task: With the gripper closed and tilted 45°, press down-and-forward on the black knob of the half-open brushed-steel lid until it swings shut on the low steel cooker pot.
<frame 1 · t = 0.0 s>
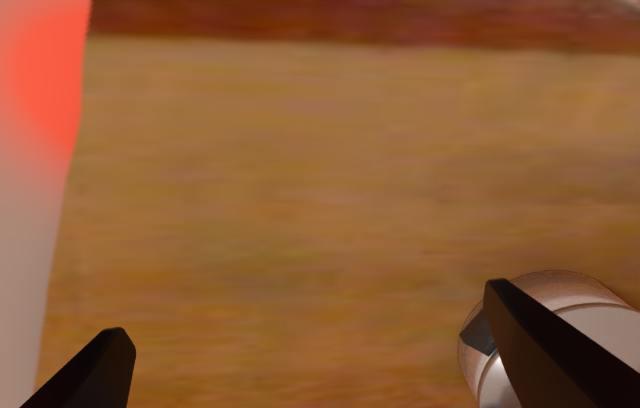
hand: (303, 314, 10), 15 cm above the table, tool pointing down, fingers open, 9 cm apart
cooker pot: (538, 342, 29), on the table
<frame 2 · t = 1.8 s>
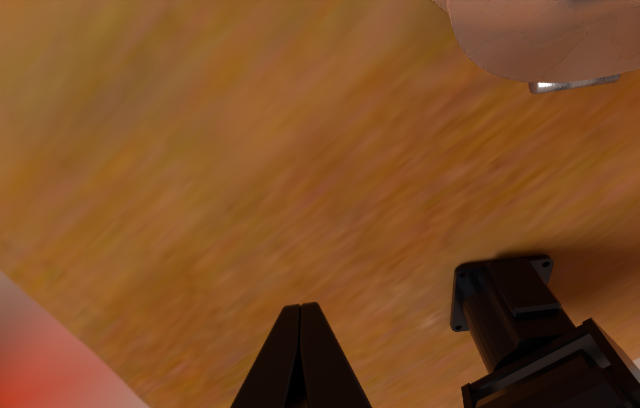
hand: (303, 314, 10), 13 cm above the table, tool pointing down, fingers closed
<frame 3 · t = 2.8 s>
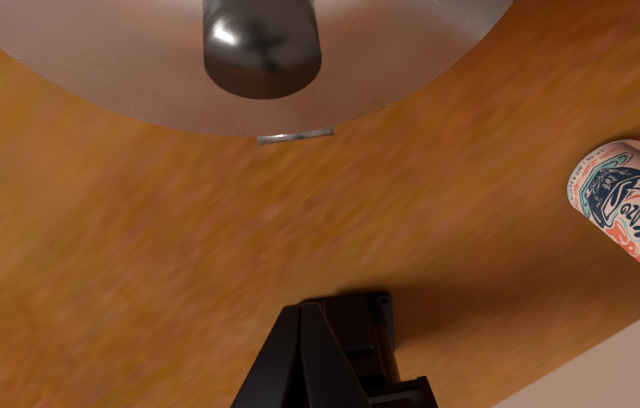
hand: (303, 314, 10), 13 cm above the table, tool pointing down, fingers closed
beer can: (601, 173, 23), on the table
cooker lid: (264, 28, 9), point 10 cm above the table, hinge at 40.0°
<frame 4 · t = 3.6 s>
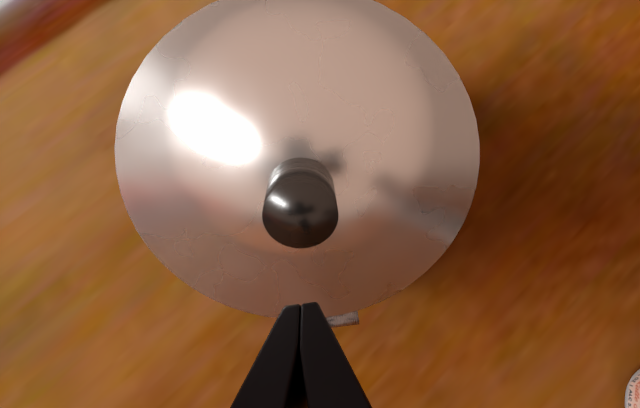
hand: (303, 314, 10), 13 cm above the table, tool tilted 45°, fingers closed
cooker lid: (303, 208, 14), point 10 cm above the table, hinge at 40.0°
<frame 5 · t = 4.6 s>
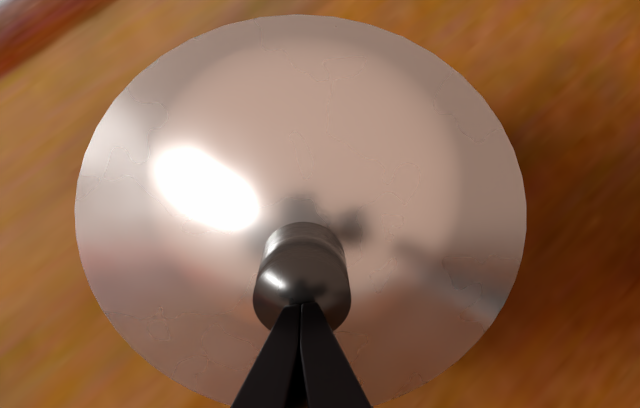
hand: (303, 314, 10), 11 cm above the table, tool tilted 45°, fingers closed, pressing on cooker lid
cooker lid: (306, 284, 11), point 9 cm above the table, hinge at 34.6°, touching gripper
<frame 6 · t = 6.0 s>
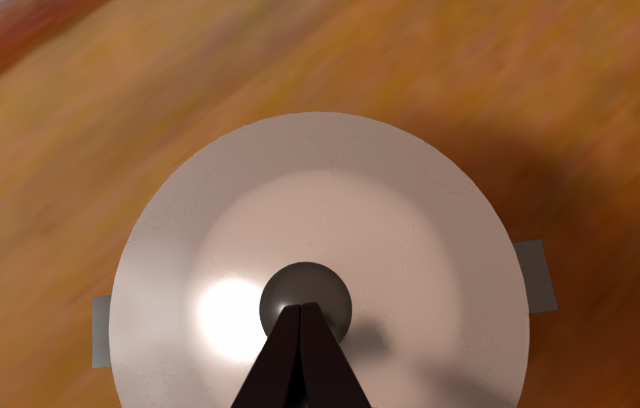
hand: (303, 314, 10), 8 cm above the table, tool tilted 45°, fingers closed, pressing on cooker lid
cooker lid: (312, 324, 11), point 6 cm above the table, hinge at -0.5°, touching cooker pot, gripper
cooker pot: (322, 299, 17), on the table
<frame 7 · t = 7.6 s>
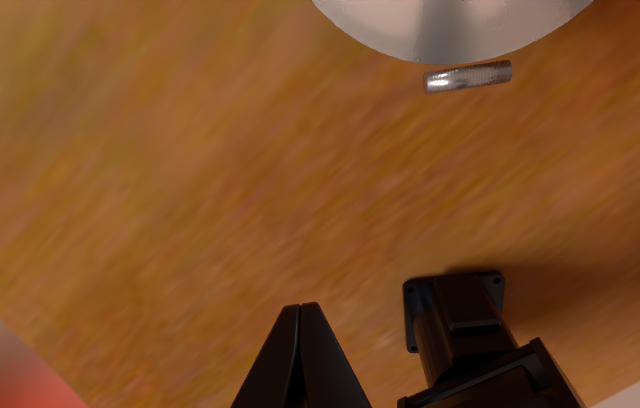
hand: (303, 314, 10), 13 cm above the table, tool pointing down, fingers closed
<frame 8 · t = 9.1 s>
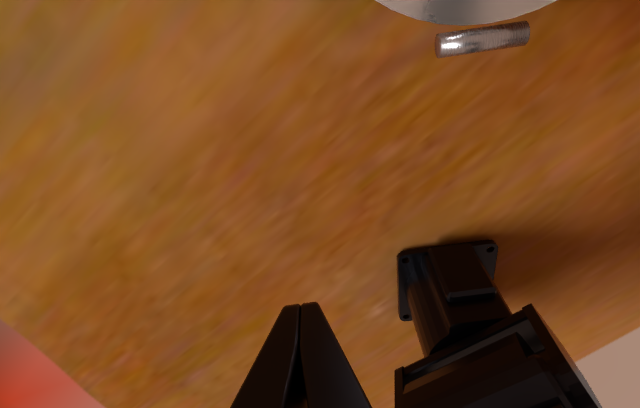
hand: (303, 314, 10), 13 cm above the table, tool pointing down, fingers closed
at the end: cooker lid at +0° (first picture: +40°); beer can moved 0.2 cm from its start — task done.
